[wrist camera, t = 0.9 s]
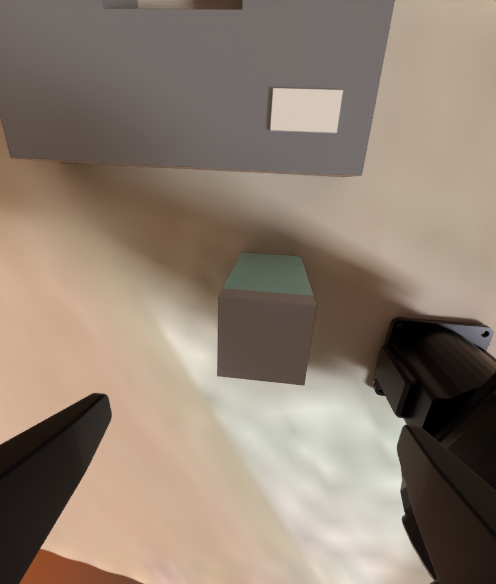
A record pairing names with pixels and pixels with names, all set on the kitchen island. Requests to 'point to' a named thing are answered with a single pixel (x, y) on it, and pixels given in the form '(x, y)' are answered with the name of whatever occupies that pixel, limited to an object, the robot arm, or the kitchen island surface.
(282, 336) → the block
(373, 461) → the kitchen island surface
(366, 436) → the kitchen island surface
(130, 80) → the outlet plate
